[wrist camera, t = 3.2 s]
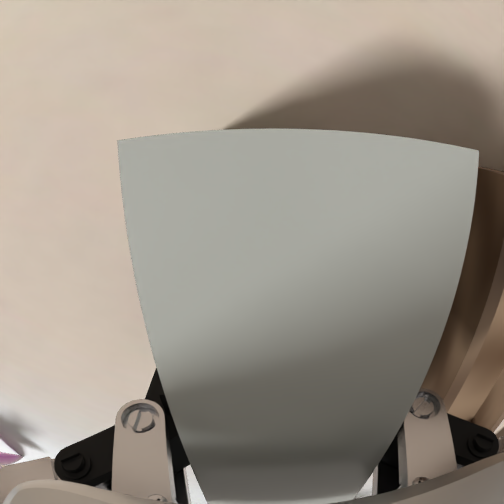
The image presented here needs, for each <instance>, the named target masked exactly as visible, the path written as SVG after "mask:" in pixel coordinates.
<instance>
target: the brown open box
mask: <svg viewBox="0 0 504 504" xmlns="http://www.w3.org/2000/svg"><path fill="white" fill-rule="evenodd" d="M420 388H426V389H430V390H432V391H434V392H436V393H437V394H439V396H440V397H441V398H442V399H443V401H444V404H445V408H446V412H447V413H448V414H451V415H453V416H456V417H459V418H461V419H464V420H466V421H469V422H471V423H474V424H477V425H479V426H482V427H485V428H487V429H489V430H491V431H492V432H494V431H495V430H496V428H497V427H498V426H499V424H500V423H501V422H502V420H503V419H504V172H503V171H498V170H493V169H488V168H483V167H478V175H477V185H476V194H475V202H474V209H473V216H472V222H471V228H470V234H469V239H468V244H467V249H466V254H465V258H464V262H463V267H462V271H461V275H460V279H459V282H458V286H457V290H456V293H455V297H454V300H453V303H452V307H451V310H450V313H449V316H448V319H447V322H446V325H445V328H444V331H443V334H442V337H441V339H440V342H439V345H438V347H437V350H436V352H435V355H434V357H433V360H432V362H431V365H430V367H429V369H428V372H427V374H426V376H425V379H424V381H423V383H422V385H421V387H420Z"/></svg>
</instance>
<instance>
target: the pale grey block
mask: <svg viewBox="0 0 504 504" xmlns="http://www.w3.org/2000/svg"><path fill="white" fill-rule="evenodd" d="M117 142H118V157H119V169H120V180H121V190H122V198H123V207H124V214H125V222H126V229H127V235H128V242H129V248H130V254H131V259H132V265H133V270H134V276H135V281H136V286H137V291H138V295H139V300H140V304H141V309H142V313H143V318H144V322H145V326H146V330H147V334H148V338H149V342H150V345H151V349H152V353H153V356H154V360H155V364H156V367H157V370H158V374H159V377H160V381H161V384H162V387H163V390H164V393H165V396H166V400H167V403H168V406H169V409H170V412H171V414H172V417H173V420H174V423H175V426H176V429H177V431H178V434H179V437H180V439H181V442H182V445H183V447H184V450H185V452H186V455H187V457H188V460H189V462H190V465H191V467H192V469H193V472H194V474H195V476H196V479H197V481H198V483H199V486H200V488H201V490H202V492H203V494H204V497H205V499H206V501H207V503H208V504H329V503H336V502H342V501H348V500H353V499H354V498H355V496H356V495H357V494H358V492H359V491H360V490H361V488H362V487H363V486H364V484H365V483H366V481H367V480H368V478H369V477H370V476H371V474H372V473H373V471H374V470H375V468H376V467H377V465H378V464H379V462H380V460H381V459H382V457H383V456H384V454H385V452H386V451H387V449H388V448H389V446H390V444H391V443H392V441H393V439H394V437H395V436H396V434H397V432H398V430H399V429H400V427H401V425H402V423H403V421H404V419H405V418H406V416H407V414H408V412H409V410H410V408H411V406H412V404H413V402H414V400H415V398H416V396H417V394H418V392H419V390H420V387H421V385H422V383H423V381H424V379H425V376H426V374H427V372H428V369H429V367H430V365H431V362H432V360H433V357H434V355H435V352H436V350H437V347H438V345H439V342H440V339H441V337H442V334H443V331H444V328H445V325H446V322H447V319H448V316H449V313H450V310H451V307H452V303H453V300H454V297H455V293H456V290H457V286H458V282H459V279H460V275H461V271H462V267H463V262H464V258H465V254H466V249H467V244H468V239H469V234H470V228H471V222H472V216H473V209H474V202H475V194H476V185H477V175H478V162H479V151H478V150H474V149H469V148H465V147H460V146H455V145H449V144H444V143H439V142H433V141H427V140H420V139H414V138H407V137H399V136H391V135H383V134H373V133H363V132H351V131H336V130H317V129H228V130H209V131H195V132H183V133H172V134H162V135H154V136H145V137H138V138H131V139H124V140H117Z"/></svg>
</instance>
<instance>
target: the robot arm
mask: <svg viewBox="0 0 504 504" xmlns="http://www.w3.org/2000/svg"><path fill="white" fill-rule="evenodd" d="M188 465H190V462H189V460H188V457H187V455H186V452H185V450H184V447H183V445H182V442H181V439H180V437H179V434H178V431H177V429H176V426H175V423H174V420H173V417H172V414H171V412H170V409H169V406H168V403H167V400H166V396H165V393H164V390H163V387H162V384H161V381H160V377H159V374H158V370H157V368H156V370H155V373H154V376H153V378H152V381H151V384H150V387H149V389H148V392H147V395H146V398H145V399H139V400H133V401H131V402H128V403H126V404H125V405H124V406H122V407H121V408H120V410H119V411H118V412H117V416H116V421H115V425H114V426H112V427H110V428H108V429H106V430H104V431H102V432H99V433H97V434H95V435H93V436H91V437H88V438H86V439H84V440H82V441H79V442H77V443H75V444H72V445H70V446H68V447H66V448H64V449H62V450H61V451H60V452H59V453H58V454H57V456H56V458H55V459H51V458H50V457H45V458H41V459H37V460H32V461H27V462H22V463H17V464H12V465H7V466H4V467H2V468H1V469H0V504H191V499H190V493H189V487H188V480H187V473H186V466H188ZM329 504H504V437H500V438H499V439H497V437H496V435H495V434H494V433H493V432H492V431H491V430H489V429H487V428H485V427H482V426H479V425H477V424H474V423H471V422H469V421H466V420H464V419H461V418H459V417H456V416H453V415H451V414H448V413H447V412H446V408H445V404H444V401H443V399H442V398H441V397H440V396H439V394H437V393H436V392H434V391H432V390H430V389H426V388H420V390H419V392H418V394H417V396H416V398H415V400H414V402H413V404H412V406H411V408H410V410H409V412H408V414H407V416H406V418H405V419H404V421H403V423H402V425H401V427H400V429H399V430H398V432H397V434H396V436H395V437H394V439H393V441H392V443H391V444H390V446H389V448H388V449H387V451H386V452H385V454H384V456H383V457H382V459H381V460H380V462H379V464H378V465H377V467H376V468H375V470H374V471H373V485H372V496H369V497H364V498H359V499H354V500H348V501H342V502H336V503H329Z"/></svg>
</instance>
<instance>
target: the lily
mask: <svg viewBox="0 0 504 504" xmlns="http://www.w3.org/2000/svg"><path fill="white" fill-rule="evenodd" d="M22 458H23V457H22V456H20V455H15V454H9V453H3V452H0V469H1V468H2V466H1V465H8V464H12V463H14V462H17V461H19V460H20V459H22Z"/></svg>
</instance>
